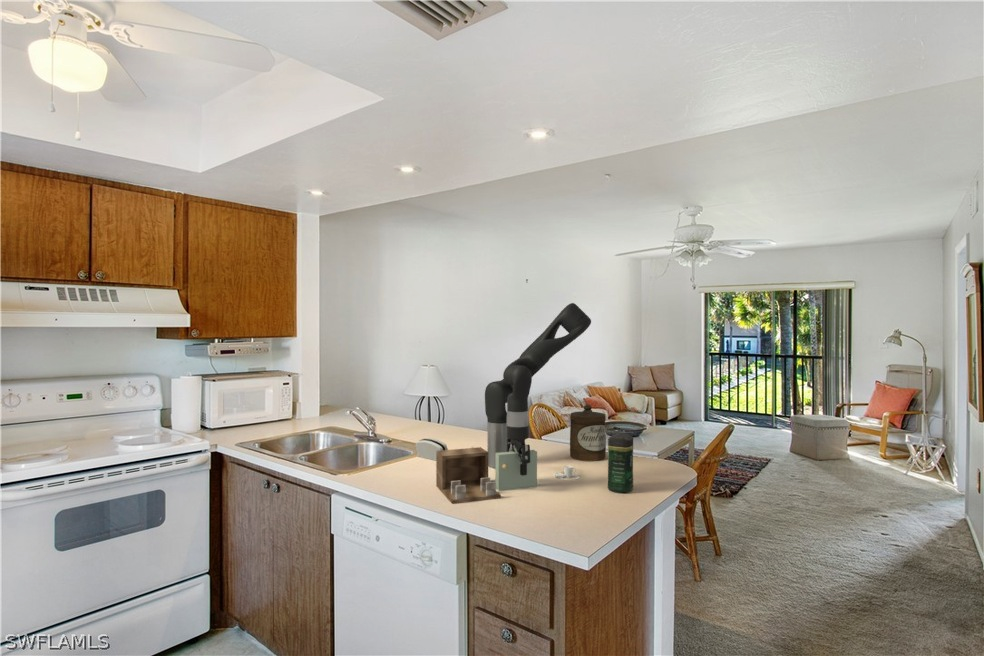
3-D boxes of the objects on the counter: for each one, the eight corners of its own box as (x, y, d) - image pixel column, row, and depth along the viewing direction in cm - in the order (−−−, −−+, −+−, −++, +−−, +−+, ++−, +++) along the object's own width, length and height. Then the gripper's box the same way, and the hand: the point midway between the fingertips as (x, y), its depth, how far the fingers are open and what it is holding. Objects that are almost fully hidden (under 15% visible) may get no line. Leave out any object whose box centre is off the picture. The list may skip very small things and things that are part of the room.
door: (533, 484, 180) (533, 449, 181) (538, 487, 177) (538, 452, 177) (495, 488, 176) (495, 452, 176) (499, 492, 172) (500, 455, 172)
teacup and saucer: (552, 479, 187) (552, 468, 187) (557, 474, 195) (557, 463, 195) (577, 482, 184) (577, 470, 184) (581, 476, 192) (581, 465, 192)
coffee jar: (629, 495, 169) (629, 437, 169) (605, 491, 172) (605, 435, 172) (635, 487, 177) (635, 432, 177) (612, 484, 181) (612, 430, 181)
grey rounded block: (454, 460, 213) (448, 439, 210) (446, 467, 209) (440, 445, 207) (426, 454, 224) (420, 433, 221) (418, 460, 220) (412, 439, 218)
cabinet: (480, 481, 184) (480, 447, 184) (500, 497, 166) (500, 460, 166) (436, 486, 178) (436, 450, 178) (452, 503, 160) (452, 464, 160)
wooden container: (582, 462, 210) (582, 408, 210) (563, 454, 223) (563, 403, 223) (613, 459, 216) (613, 406, 216) (592, 451, 229) (592, 401, 229)
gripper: (537, 426, 172) (537, 476, 171) (519, 420, 185) (519, 466, 185) (516, 428, 169) (516, 478, 169) (499, 421, 182) (500, 468, 182)
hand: (518, 472), depth 177 cm, fingers open, 8 cm apart
